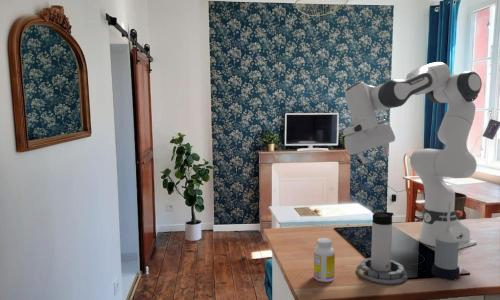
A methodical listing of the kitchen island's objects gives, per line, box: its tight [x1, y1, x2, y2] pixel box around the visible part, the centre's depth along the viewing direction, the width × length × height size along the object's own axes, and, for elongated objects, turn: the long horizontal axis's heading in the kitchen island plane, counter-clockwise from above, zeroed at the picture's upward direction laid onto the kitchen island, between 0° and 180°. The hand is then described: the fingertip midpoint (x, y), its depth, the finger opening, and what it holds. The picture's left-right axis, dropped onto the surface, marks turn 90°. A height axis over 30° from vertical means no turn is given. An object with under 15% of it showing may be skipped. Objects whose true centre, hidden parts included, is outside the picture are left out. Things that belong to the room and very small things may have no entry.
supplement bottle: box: [313, 237, 336, 283], centre depth 121 cm, size 7×7×13 cm
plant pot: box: [454, 191, 468, 222], centre depth 175 cm, size 15×15×16 cm
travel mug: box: [370, 211, 395, 272], centre depth 124 cm, size 6×7×20 cm
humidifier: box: [431, 201, 462, 281], centre depth 123 cm, size 8×8×25 cm
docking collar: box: [356, 257, 408, 286], centre depth 125 cm, size 16×16×3 cm
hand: (375, 159), depth 141 cm, fingers open, 8 cm apart
